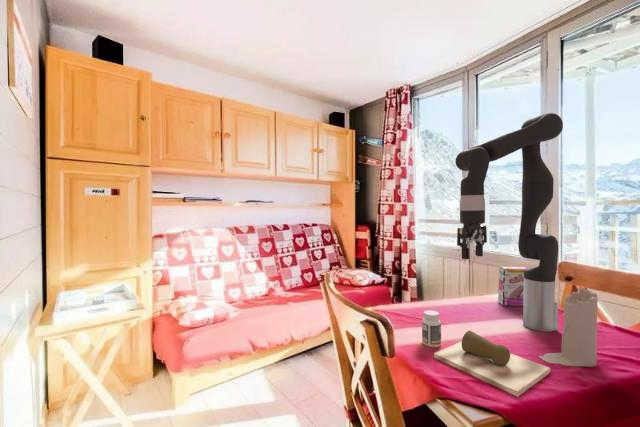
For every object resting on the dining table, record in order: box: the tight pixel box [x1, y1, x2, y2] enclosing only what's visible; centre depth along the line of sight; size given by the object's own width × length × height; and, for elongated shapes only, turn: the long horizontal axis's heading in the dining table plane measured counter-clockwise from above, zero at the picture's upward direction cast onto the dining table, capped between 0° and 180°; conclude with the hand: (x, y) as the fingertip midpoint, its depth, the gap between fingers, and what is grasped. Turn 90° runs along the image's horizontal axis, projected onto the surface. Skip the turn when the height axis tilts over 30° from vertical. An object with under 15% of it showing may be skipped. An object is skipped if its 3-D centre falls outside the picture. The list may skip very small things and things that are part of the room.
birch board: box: [433, 340, 551, 398], centre depth 84 cm, size 22×18×1 cm
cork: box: [461, 330, 511, 366], centre depth 84 cm, size 6×6×11 cm
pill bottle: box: [421, 310, 442, 348], centre depth 97 cm, size 6×6×10 cm
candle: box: [538, 287, 598, 368], centre depth 86 cm, size 7×14×20 cm, turn 88°
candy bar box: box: [497, 266, 529, 307], centre depth 134 cm, size 11×5×16 cm, turn 84°
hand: (472, 257), depth 102 cm, fingers open, 8 cm apart
